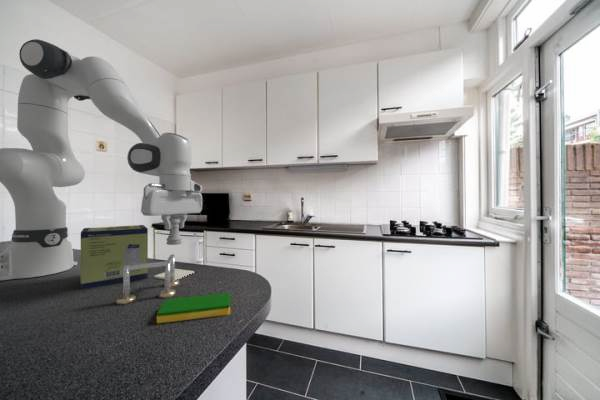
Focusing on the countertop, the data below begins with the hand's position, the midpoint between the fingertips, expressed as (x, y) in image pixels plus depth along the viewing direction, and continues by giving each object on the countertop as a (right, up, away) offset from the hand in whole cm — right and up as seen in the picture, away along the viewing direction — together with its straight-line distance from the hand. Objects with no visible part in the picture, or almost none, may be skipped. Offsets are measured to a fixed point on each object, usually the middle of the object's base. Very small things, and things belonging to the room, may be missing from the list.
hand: (174, 228), depth 74 cm
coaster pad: (0, -15, 0) cm, 15 cm away
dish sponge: (+17, -16, -23) cm, 33 cm away
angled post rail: (+4, -15, -14) cm, 21 cm away
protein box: (-16, -15, -3) cm, 22 cm away
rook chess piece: (0, -5, 0) cm, 5 cm away
